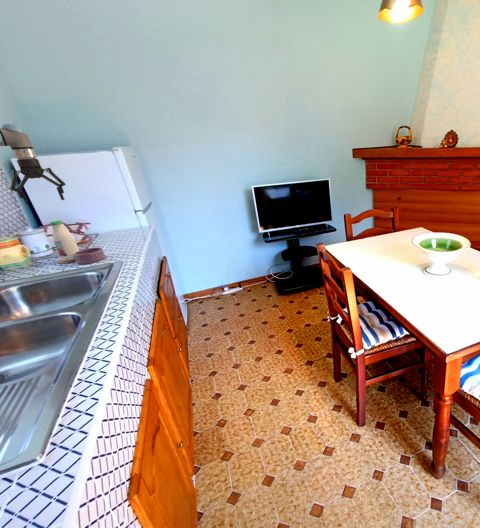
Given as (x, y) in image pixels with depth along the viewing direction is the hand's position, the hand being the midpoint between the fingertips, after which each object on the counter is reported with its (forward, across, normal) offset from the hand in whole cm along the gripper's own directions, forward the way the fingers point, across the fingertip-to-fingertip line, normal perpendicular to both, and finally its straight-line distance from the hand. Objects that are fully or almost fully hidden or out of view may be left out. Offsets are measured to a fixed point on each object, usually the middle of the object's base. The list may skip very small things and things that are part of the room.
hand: (45, 202), depth 154 cm
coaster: (+29, -2, -15) cm, 32 cm away
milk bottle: (+28, -2, -15) cm, 32 cm away
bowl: (+29, +3, -26) cm, 39 cm away
